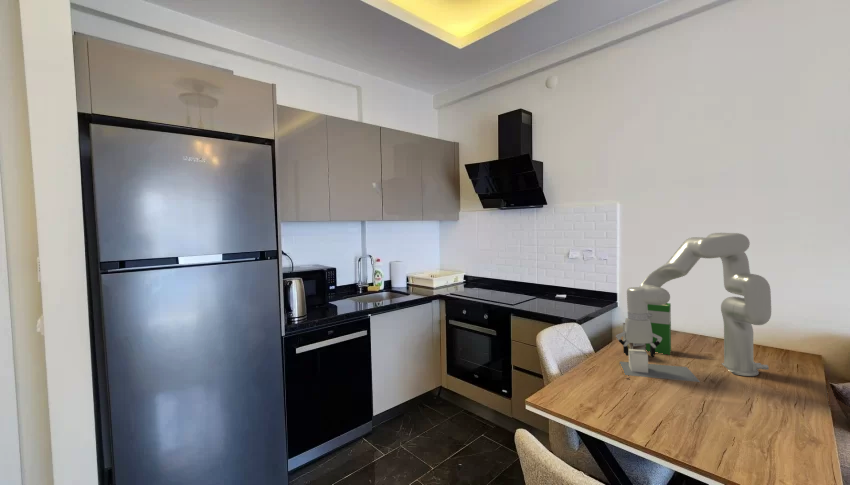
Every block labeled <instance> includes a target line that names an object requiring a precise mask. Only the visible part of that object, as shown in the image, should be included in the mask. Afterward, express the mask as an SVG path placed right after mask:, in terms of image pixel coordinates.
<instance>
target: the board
mask: <svg viewBox="0 0 850 485" xmlns="http://www.w3.org/2000/svg"><path fill="white" fill-rule="evenodd" d="M620 364H621V366H622V368H623V370H624V373H625V375H628V376H629V377H630V376H632V377H643V378H653V379H654V378H655V379H663V380H675V381H682V382H683V381H685V382H696V383H701V381H700V380H699V379H698V377H697V376H695V374H694V373H693V372H692V370H690V368H688V367H687V366H681V365H680V366H679V365H667V364H655V363H654V364H653V363H648V373H645V372H634V371H631V369H630V367H629V361H619V365H620Z"/></svg>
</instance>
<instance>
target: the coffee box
mask: <svg viewBox="0 0 850 485" xmlns="http://www.w3.org/2000/svg"><path fill="white" fill-rule="evenodd" d="M622 332H625V322H622ZM625 340H626V339H625V336H623V337H622V341H625ZM627 346H628V356H629V349H635V350H645V351H646V343H629V344H628V345H627ZM622 350H623V351H622V352H624V348H623V349H622Z"/></svg>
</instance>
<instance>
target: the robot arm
mask: <svg viewBox="0 0 850 485" xmlns="http://www.w3.org/2000/svg"><path fill="white" fill-rule="evenodd" d="M750 244H751V243H750V239H749V238H748V237H747V235H745V234H742V233H740V232H739V233H738V232H713V233H710V234H708V235H707V236H706V237H699V236H698V237H689V238H686V239H685V240H684V241H683V242H682V244H681V245H680V246H679V247H678V248H677V249H676V251H675V252H674V253H673V255H672V256H671V257H670V258H669V260H668V261H666V263H664V264H663V265H661V266H660V267H658V268H657V269H655V270H654V271H652V272H651V273H649V274H648V275H647V276H646V278H645V279H644V280H643V281H642V283H640V285H639V286H633V287H628V288H627V290H626V304H627V306H626V307H627V308H626V309H627V317H626V318H625V321H624V323H625V332H623V331H622V332H620V333H617V334H616V335H615V337H616V339H617V340H618V342H619V343H620V344H621V345H622V346H623V348H624V351H623V354H624V353H625V354H624V355H625V356H626V357H629V355H628V346H627V345H628V344H629V343H649V344H650V345H651V346H650V352H649V353H650V357H652V358H655V356H656V353H655V348H656V347H657V346H658V345H659V344H660V342H661V340H662V337H660V336H658V335H656V334H654V333H652V328H651V323H650V320H649V319H648V318H649V317H652V314H649V313H648V307H647V305H648V304H650V305H664V304H666V303H670V300H671V294H670V292H669V291H668V290H667V289H666V288H663V287H662V286H664V284H667V283H668V282H670V281H672V280H676V279H680V278H683V277H685V276H687V275H688V274H689V273H690V271H691V270H692V269H693V267H695V265H696V264H697V263H698V261H699V260H700V259H717V258H719V259H720V260H721V262H722V263H721V264H722V270H723V271H722V273H723V274H722V275H723V287H724V289H725V290H726V291H727V292H728V293H731V294H733V295H738V296H729V297H726V298H724V299H723V300H722V302H721V304H720V311H721V312H720V313H721V316H722V320H723V362H722V363H721V365H722V366H724V368H726V370H728V371H729V372H731V373H732V374H733V375H736V376H737V375H738V376H742V377H743V376H744V377H755V376H759V371H760V370H766V371H768V370H769V365H768V364H762V363H761V362H755V361H754V328H753V326H764V325H765V324H767V323H768V322H769V321H770V319H771V316H772V296H771V295H772V294H771V292H772V291H771V286H770V284H769V281H768V280H767V279H766V278H765V277H764V276H762V275H759V274H756V273H751V270H750V269H751V268H750V263H749V258H748V255H747V253H746V251H748V249H749V248H750ZM741 296H742V297H741ZM623 336H625V339H626V340H625V341H623V339H622V338H623ZM653 337H655V338H657V341H655V342H654V343H653Z"/></svg>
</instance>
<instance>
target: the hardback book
mask: <svg viewBox="0 0 850 485" xmlns="http://www.w3.org/2000/svg"><path fill="white" fill-rule="evenodd" d="M671 306H672V305H671V303H670V302H667V303H666V304H664V305H650V304H648V305H647V307H648V313H649V314H652V317H649V318H648V319H649V320H650V323H651V328H652V333H654V334H656V335H658V336H660V337H662V340H661V342H660V344H659V345H658V346H657V347H656V348H655V352H658V353H657V354H659V353H663V354H662V355H665V354H668V355H667V356H670V355H671V353H670V352H672V323H671V322H672V317H671V316H672V314H671ZM655 341H657V338H655V337H653V343H654V342H655ZM650 346H651V345H650V344H649V343H646V350H647V351H650Z"/></svg>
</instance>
